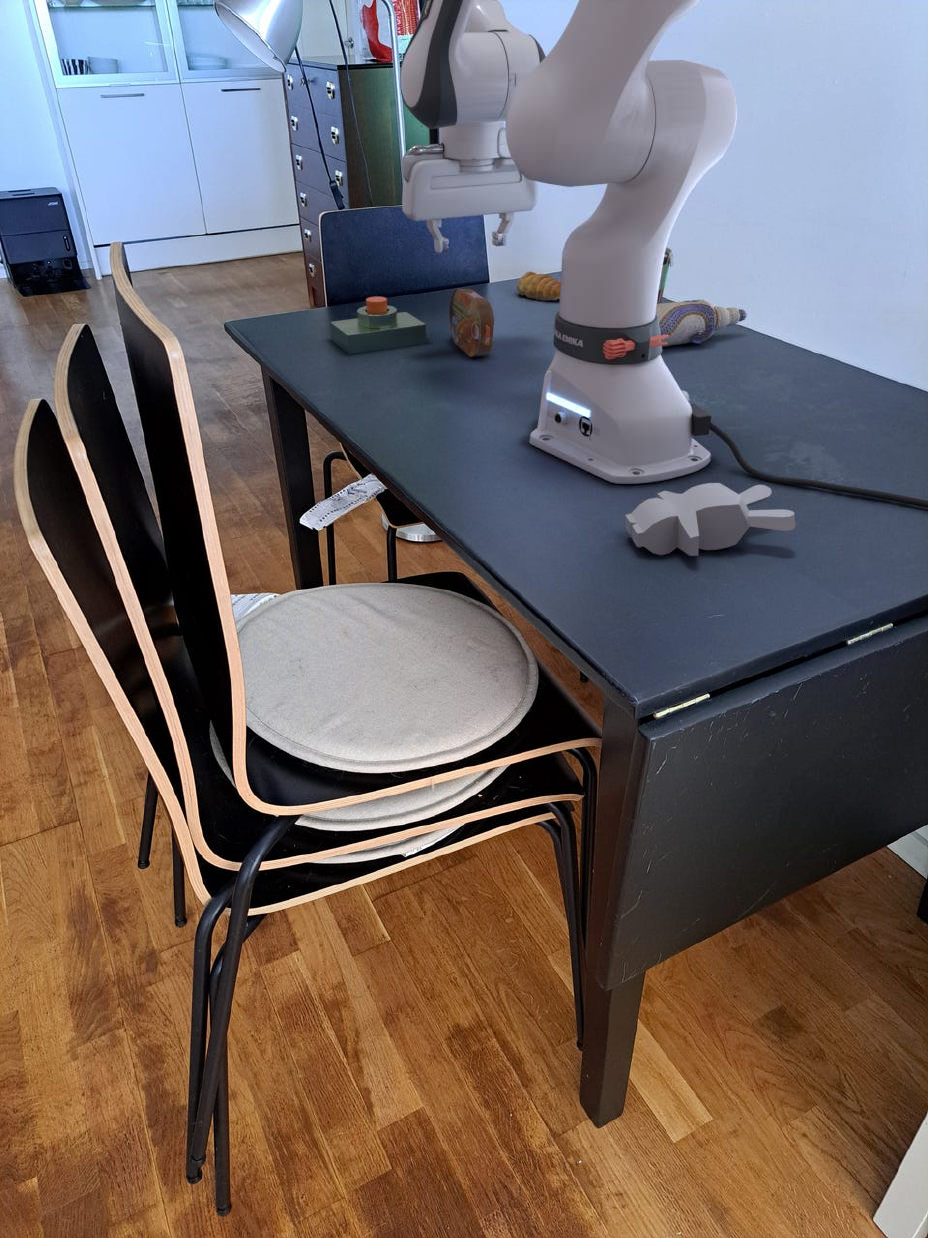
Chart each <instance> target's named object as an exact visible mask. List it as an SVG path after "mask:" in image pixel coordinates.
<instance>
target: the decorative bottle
mask: <svg viewBox="0 0 928 1238" xmlns="http://www.w3.org/2000/svg"><path fill="white" fill-rule="evenodd" d="M656 315H657V317H658V319H659V326H660V329H661V335H666V334H668V335H669V337H667V338H665V339H663V340H661V342H667V343H668V344H667V345H662V348H663V347H669V346H679V345H684V344H685V345H686V344H691V343H694V344H699V345H700V344H702V343H703V342H704V341H707V340H708V339H709V338H711V337H712V335H713V334H714V333H715V331H716V332H717V331H719V330H722V329H724V328H726V327H733V326H736V325H737V324H738V323H739V322H742V321H745V320H746V318H747V311H745V310H744V309H742V308H737V307H724V306H723V307H722V306H713V304H712V303H710V302H709V301H707V300H705V299H692V300H683V301H671V302H661V304H657V307H656Z"/></svg>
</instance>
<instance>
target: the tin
mask: <svg viewBox="0 0 928 1238" xmlns="http://www.w3.org/2000/svg"><path fill="white" fill-rule="evenodd" d="M450 297H451V298H450V302H449V311H448V312H449V314H448V316H449V318H448V319H449V329H450V334H451V338H452V340H453V343H454V344H455V345H456V346H457V347H459V348H460V350H462V351H463V352H464V353H465V354H466V355H467V356H468V358H474V357H486V356H488V355H489V354H490V353H491V351H492V349H493V345H494V344H493V343H494V342H493V340H494V328H495V314H494V310H493V307H492V304H491V303H490V301H489V300H487V299H486V298H485V297H483V296H482V295H480V294H479V293H477V292H476V291H475V290H473V289H470V288H459V287H458V288H455V289H454V290H453V291H452V294H451V296H450Z"/></svg>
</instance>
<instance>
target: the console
mask: <svg viewBox="0 0 928 1238" xmlns="http://www.w3.org/2000/svg"><path fill="white" fill-rule="evenodd" d="M356 317H357V318H350V319H342V320H334V321H330V334H331V342H333V343H334V344H335V345H337V346H338V347H339V349H342V350H343V351H344V352H345V353H347V355H356V354H361V353H368V352H375V351H382V350H389V349H396V348H402V347H409V346H415V345H422V344H427V324H426V323H425V322H423V321H422V320H420V319H418V318H417V317H416V316H413V315H412V314H410V313H408V312H407V311H404V312H403V311H402V312H398V308H396V307H395V306H393V305H388V304H387V312H385V313H368V312H367V306H366V305H364V306H362V307H359V308H358V309H357V310H356Z"/></svg>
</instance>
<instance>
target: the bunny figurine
mask: <svg viewBox="0 0 928 1238" xmlns="http://www.w3.org/2000/svg"><path fill="white" fill-rule="evenodd" d="M772 492H773V491H772V488H771V487H769V486H767V485H765V484H756V485H753V486H751V487H749V488H747V489H746V490H743V491H742V492H739V493H738V492H735V491H734V490H732V489H730V487H727V486H725V484H722V483H720V482H709V483H702V484H698V485H695V486H692V487H690V488H689V489H687V490H686V491H684V492H683V493H677V492H672V491H668V490H663V491H660V492H657V496H656V497H652V498H647V499H645V500H644V501H643V502H641V503H640V504H638V506H637V507H635V508H634V510H633V511H632V512H631V513H627V514H625V516H624V521H625V523H624V524H625V525H624V526H625V530H626V532H627V533H628V535H629V536H630V537H632V541H633V543H634V545H635V546H636V548H642V547H644V548H645V549H646V550H648V551H649V552H651V553H652V554H655V555H659V556H664V555H668V554H671V552H673V551H674V550H676V549H677V548H678V549H679V550H681V551H682V552H684V553H685V554H687V555H688V556H690V557H695V556H696V557H697V556H698V557H699V554H700V553H699V549H700V550H704V551H714V550H715V551H717V550H721V549H726V548H729V547H732V546H735V545H737V544H738V542H739V541H740V540H741V539H742V538H743V536H744V535H745V533H746V532H747V531H748V530H749V529H750V527H751V528H758V529H766V530H775V531H782V532H787V531H792V530H794V529H795V528H796V516H795V512H794V511H793V510H789V509H782V508H781V509H779V508H778V509H749V507H751V506H753V505H756V504H759V503H762V502H765V501H767V500H769V499H770V498H771V495H772Z"/></svg>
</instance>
